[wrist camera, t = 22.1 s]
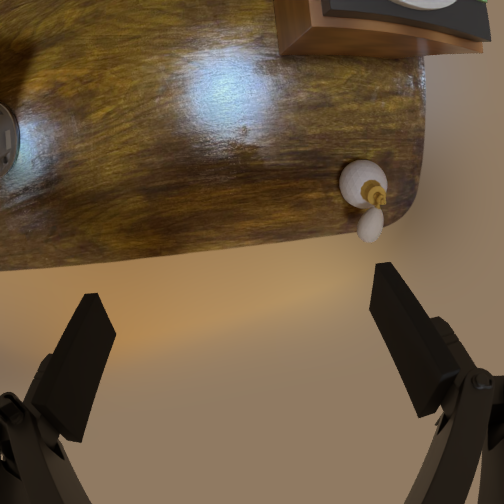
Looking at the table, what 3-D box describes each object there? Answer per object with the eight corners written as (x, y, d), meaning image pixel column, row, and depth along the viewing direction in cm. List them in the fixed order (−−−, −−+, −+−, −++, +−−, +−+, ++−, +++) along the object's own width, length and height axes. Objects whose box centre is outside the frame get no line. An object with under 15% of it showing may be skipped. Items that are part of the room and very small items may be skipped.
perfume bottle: (375, 153, 46) (410, 173, 36) (377, 208, 51) (408, 240, 40) (332, 158, 47) (358, 179, 36) (336, 214, 51) (360, 249, 41)
